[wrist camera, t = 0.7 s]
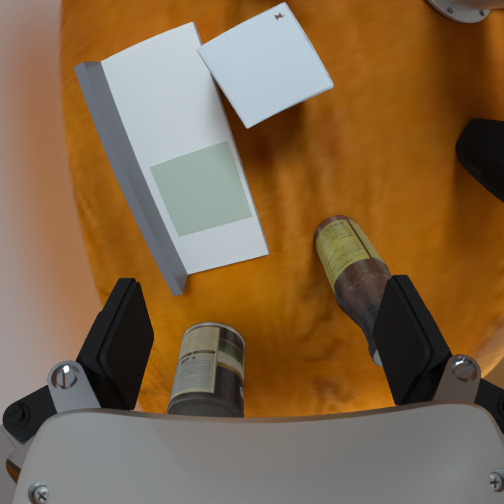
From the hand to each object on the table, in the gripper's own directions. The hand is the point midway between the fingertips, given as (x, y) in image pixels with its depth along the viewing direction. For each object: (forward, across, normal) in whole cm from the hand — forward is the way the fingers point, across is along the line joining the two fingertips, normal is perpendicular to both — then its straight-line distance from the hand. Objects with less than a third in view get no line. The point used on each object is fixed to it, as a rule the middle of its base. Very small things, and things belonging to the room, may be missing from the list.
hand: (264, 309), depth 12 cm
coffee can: (+26, +7, +31) cm, 41 cm away
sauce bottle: (+27, -10, +12) cm, 31 cm away
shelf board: (+26, +8, +1) cm, 28 cm away
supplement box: (+27, 0, -9) cm, 28 cm away
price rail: (+24, +13, +2) cm, 28 cm away
